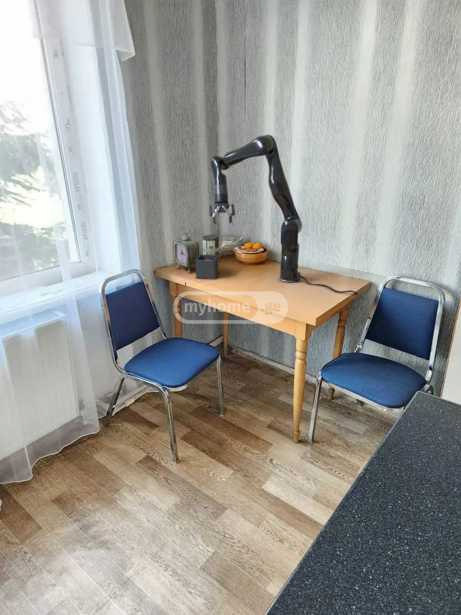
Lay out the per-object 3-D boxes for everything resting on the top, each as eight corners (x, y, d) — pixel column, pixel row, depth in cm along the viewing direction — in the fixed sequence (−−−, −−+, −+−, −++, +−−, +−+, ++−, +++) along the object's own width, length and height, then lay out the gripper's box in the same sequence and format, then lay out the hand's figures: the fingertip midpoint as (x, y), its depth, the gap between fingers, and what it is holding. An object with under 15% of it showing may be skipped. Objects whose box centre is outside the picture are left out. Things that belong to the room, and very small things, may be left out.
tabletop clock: (173, 268, 232) (171, 226, 221) (186, 265, 237) (184, 223, 227) (188, 274, 222) (186, 230, 212) (201, 270, 228) (199, 228, 217)
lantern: (214, 255, 255) (214, 234, 249) (222, 259, 247) (221, 237, 241) (200, 258, 250) (199, 236, 244) (207, 262, 242) (206, 239, 236)
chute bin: (218, 273, 224) (217, 255, 220) (214, 279, 215) (214, 260, 210) (200, 272, 225) (199, 254, 221) (196, 278, 216) (195, 260, 212)
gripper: (207, 194, 215) (208, 224, 217) (232, 192, 212) (234, 222, 214) (210, 195, 222) (211, 225, 224) (234, 194, 220) (236, 223, 222)
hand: (222, 223), depth 219 cm, fingers open, 8 cm apart
